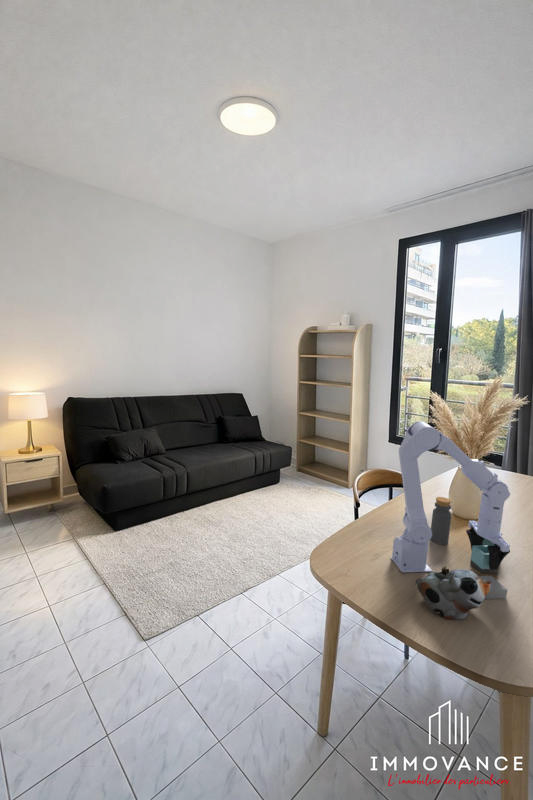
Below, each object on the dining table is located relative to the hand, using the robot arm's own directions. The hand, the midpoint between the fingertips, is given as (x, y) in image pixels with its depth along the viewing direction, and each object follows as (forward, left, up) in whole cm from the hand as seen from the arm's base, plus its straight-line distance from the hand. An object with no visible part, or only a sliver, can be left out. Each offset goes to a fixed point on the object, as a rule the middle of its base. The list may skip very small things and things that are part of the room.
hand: (484, 561), depth 109 cm
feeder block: (-4, -8, -4) cm, 10 cm away
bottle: (-2, +19, -4) cm, 20 cm away
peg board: (+4, +4, -4) cm, 7 cm away
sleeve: (0, 0, -2) cm, 2 cm away
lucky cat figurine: (-19, -13, -4) cm, 23 cm away
